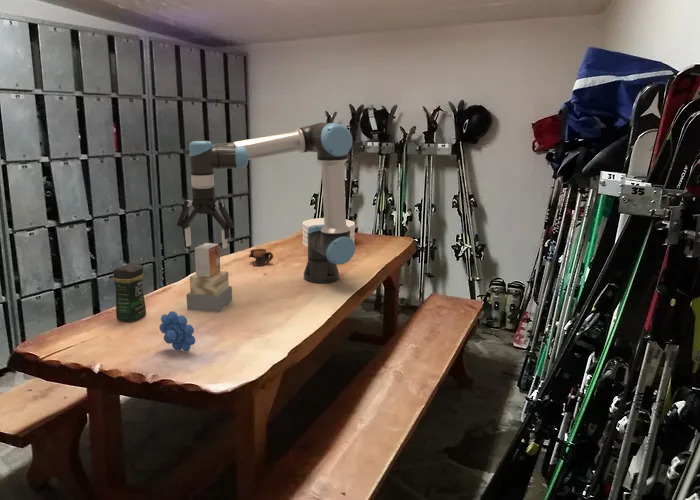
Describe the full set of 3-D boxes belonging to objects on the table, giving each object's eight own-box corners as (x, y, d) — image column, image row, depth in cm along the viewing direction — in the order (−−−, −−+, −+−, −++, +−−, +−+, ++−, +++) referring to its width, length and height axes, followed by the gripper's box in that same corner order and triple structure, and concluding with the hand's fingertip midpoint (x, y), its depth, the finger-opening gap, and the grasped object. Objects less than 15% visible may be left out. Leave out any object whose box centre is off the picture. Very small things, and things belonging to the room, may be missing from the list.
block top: (228, 287, 198) (228, 271, 197) (216, 295, 189) (216, 279, 187) (203, 284, 200) (202, 269, 199) (190, 293, 191) (189, 277, 189)
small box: (210, 278, 188) (208, 248, 186) (195, 276, 190) (194, 247, 187) (220, 271, 196) (219, 243, 193) (207, 270, 197) (205, 242, 195)
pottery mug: (246, 267, 245) (245, 250, 248) (255, 271, 254) (254, 254, 256) (270, 262, 242) (268, 245, 245) (278, 266, 251) (277, 249, 253)
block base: (232, 301, 200) (231, 286, 199) (219, 313, 189) (218, 296, 188) (202, 299, 202) (201, 283, 201) (187, 310, 191) (186, 294, 190)
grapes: (152, 353, 156) (149, 314, 153) (166, 344, 162) (163, 306, 159) (186, 359, 153) (184, 319, 150) (200, 350, 159) (198, 311, 156)
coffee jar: (133, 323, 177) (129, 269, 173) (112, 321, 179) (107, 267, 174) (150, 313, 186) (146, 261, 182) (130, 311, 188) (125, 260, 183)
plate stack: (305, 237, 305) (305, 217, 303) (355, 238, 305) (355, 218, 302) (299, 249, 278) (299, 227, 275) (353, 250, 277) (354, 229, 275)
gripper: (241, 186, 187) (244, 245, 192) (174, 184, 191) (178, 242, 196) (233, 189, 180) (236, 251, 185) (163, 187, 184) (168, 247, 189)
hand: (206, 246), depth 191 cm, fingers open, 13 cm apart
